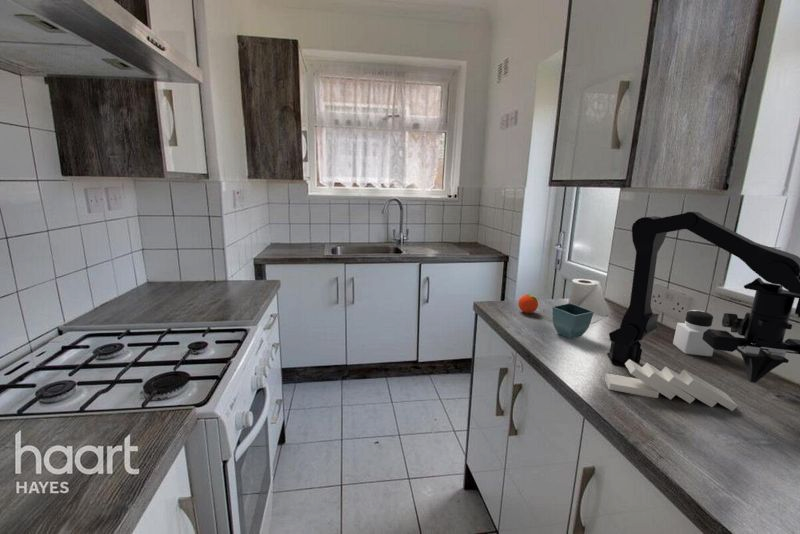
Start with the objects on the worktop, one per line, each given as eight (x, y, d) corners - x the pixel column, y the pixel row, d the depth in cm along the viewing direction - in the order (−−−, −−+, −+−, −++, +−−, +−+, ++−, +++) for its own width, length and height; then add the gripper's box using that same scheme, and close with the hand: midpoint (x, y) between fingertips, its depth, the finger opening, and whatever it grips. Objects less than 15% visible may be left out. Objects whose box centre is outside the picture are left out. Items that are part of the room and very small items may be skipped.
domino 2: (670, 399, 83) (630, 373, 85) (662, 388, 88) (624, 363, 89) (675, 394, 83) (635, 368, 84) (667, 383, 87) (629, 358, 89)
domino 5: (732, 411, 80) (688, 385, 82) (720, 398, 85) (678, 374, 86) (737, 405, 80) (693, 379, 81) (725, 393, 84) (683, 369, 86)
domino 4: (711, 407, 81) (668, 381, 83) (701, 395, 86) (660, 371, 87) (717, 402, 81) (673, 376, 82) (706, 390, 85) (665, 366, 87)
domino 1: (657, 398, 84) (609, 389, 87) (650, 387, 89) (604, 379, 92) (659, 392, 84) (610, 383, 87) (651, 381, 88) (605, 373, 91)
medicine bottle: (712, 357, 106) (722, 317, 103) (684, 354, 107) (693, 315, 104) (698, 346, 113) (707, 309, 110) (672, 343, 114) (680, 307, 111)
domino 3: (689, 403, 82) (648, 377, 84) (680, 391, 87) (642, 367, 88) (695, 398, 82) (654, 372, 83) (685, 387, 86) (646, 362, 88)
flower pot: (571, 343, 112) (575, 315, 110) (548, 332, 120) (551, 306, 118) (590, 338, 116) (594, 311, 114) (566, 328, 124) (570, 302, 122)
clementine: (542, 313, 137) (544, 294, 136) (536, 318, 132) (538, 299, 130) (521, 308, 142) (523, 290, 140) (514, 312, 137) (516, 294, 135)
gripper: (799, 307, 81) (781, 371, 85) (698, 297, 87) (685, 358, 90) (840, 325, 71) (817, 397, 74) (722, 312, 76) (706, 380, 80)
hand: (751, 381), depth 80 cm, fingers closed
